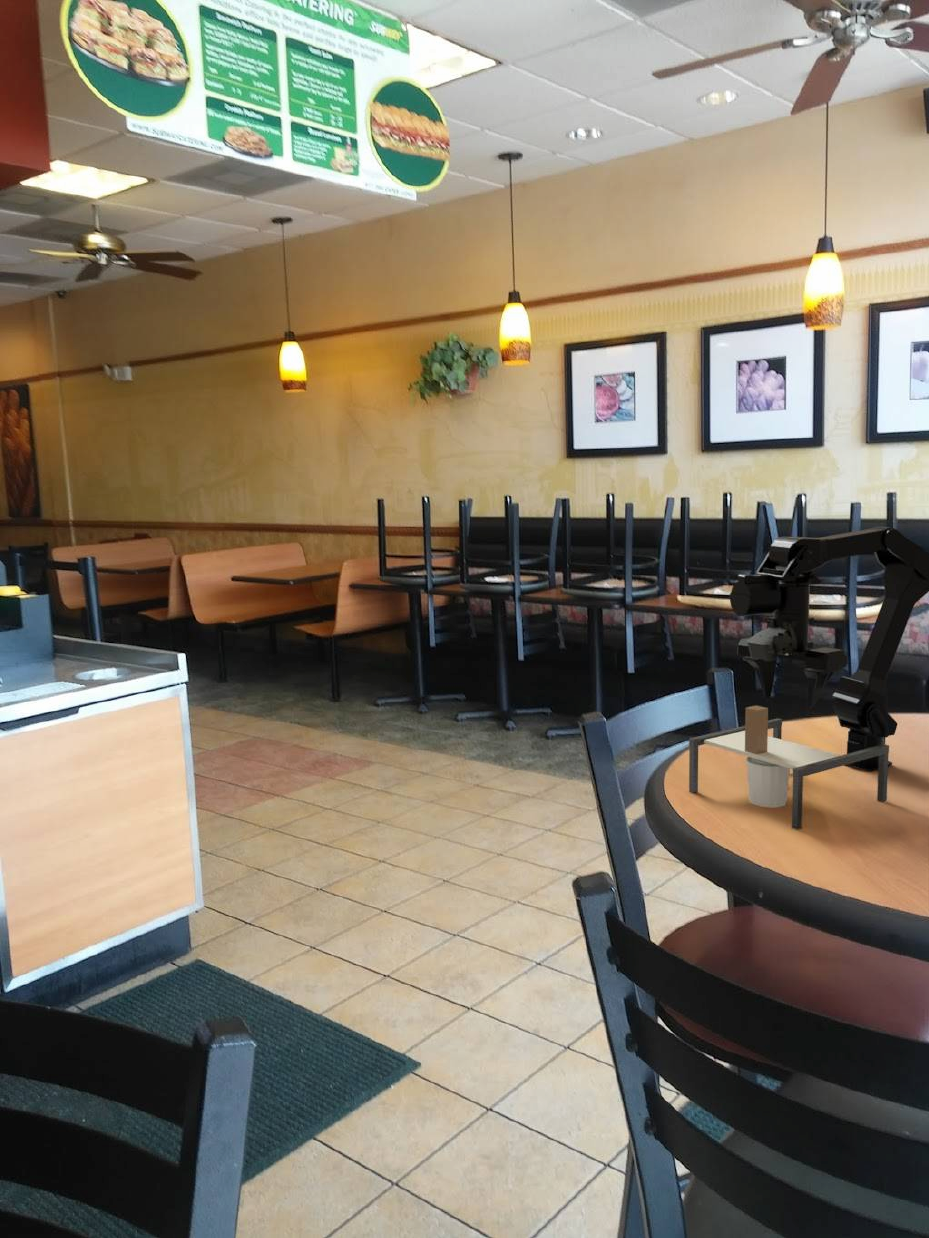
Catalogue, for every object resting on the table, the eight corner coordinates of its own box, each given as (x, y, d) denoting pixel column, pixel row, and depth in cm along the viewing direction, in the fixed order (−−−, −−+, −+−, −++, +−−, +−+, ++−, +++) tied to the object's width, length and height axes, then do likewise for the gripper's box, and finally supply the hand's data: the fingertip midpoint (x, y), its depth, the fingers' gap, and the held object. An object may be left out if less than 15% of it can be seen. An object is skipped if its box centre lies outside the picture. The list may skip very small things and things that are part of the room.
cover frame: (776, 768, 178) (777, 718, 177) (887, 800, 160) (889, 745, 158) (688, 791, 167) (689, 738, 165) (796, 829, 148) (798, 770, 147)
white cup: (792, 809, 157) (793, 766, 156) (747, 807, 158) (748, 764, 157) (787, 795, 163) (788, 753, 162) (744, 793, 165) (744, 752, 164)
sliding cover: (746, 733, 171) (746, 689, 169) (842, 759, 155) (844, 711, 153) (704, 743, 165) (704, 698, 164) (799, 771, 149) (800, 721, 148)
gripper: (715, 610, 173) (714, 699, 175) (805, 623, 157) (802, 720, 160) (760, 604, 179) (758, 690, 181) (850, 616, 163) (847, 710, 165)
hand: (788, 702), depth 172 cm, fingers open, 9 cm apart
